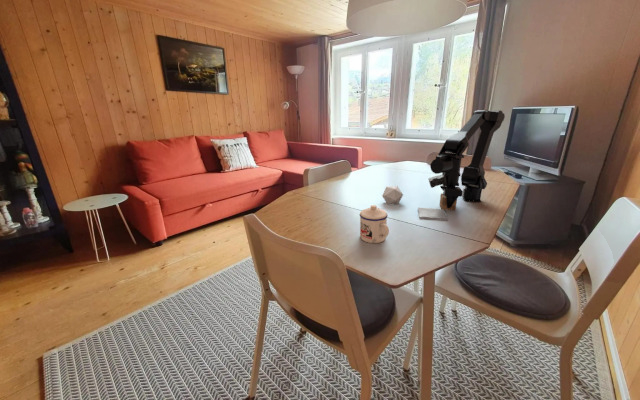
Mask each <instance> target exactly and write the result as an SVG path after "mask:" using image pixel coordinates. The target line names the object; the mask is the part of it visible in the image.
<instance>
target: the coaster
mask: <svg viewBox="0 0 640 400" xmlns="http://www.w3.org/2000/svg"><path fill="white" fill-rule="evenodd" d="M417 211H418V219H421V220H422V219H424V220H437V221H448V216H447V215H446V210H444V209H441V208H432V207H431V208H430V207H429V208H428V207H417Z"/></svg>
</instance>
